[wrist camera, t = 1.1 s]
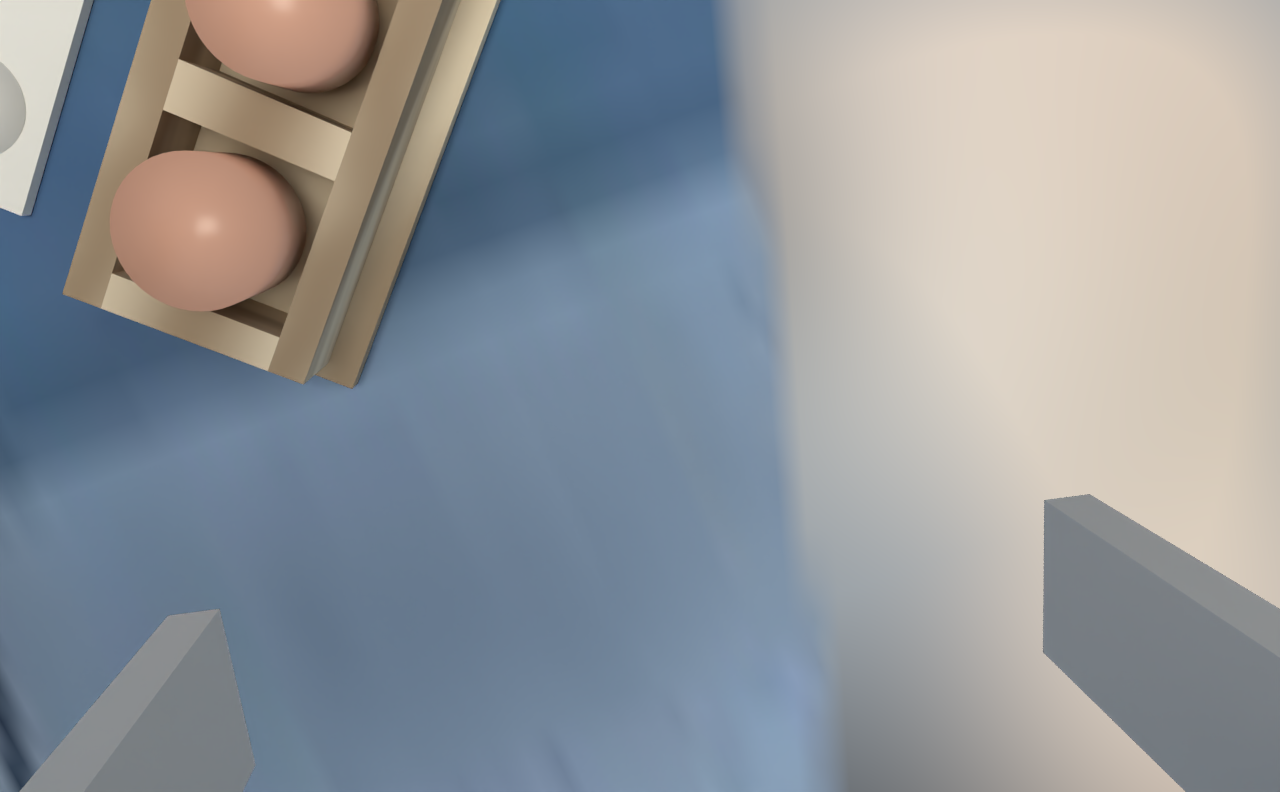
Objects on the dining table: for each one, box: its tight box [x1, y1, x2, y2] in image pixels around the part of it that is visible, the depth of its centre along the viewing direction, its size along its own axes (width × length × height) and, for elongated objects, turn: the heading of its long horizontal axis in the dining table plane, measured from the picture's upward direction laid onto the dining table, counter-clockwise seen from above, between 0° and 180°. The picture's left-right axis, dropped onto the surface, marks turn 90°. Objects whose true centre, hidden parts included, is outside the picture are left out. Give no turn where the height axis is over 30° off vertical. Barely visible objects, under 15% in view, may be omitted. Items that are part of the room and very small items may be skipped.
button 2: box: [110, 151, 306, 312], centre depth 29 cm, size 5×5×4 cm
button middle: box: [185, 0, 379, 93], centre depth 27 cm, size 5×5×4 cm
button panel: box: [63, 0, 501, 389], centre depth 30 cm, size 10×23×4 cm, turn 157°
